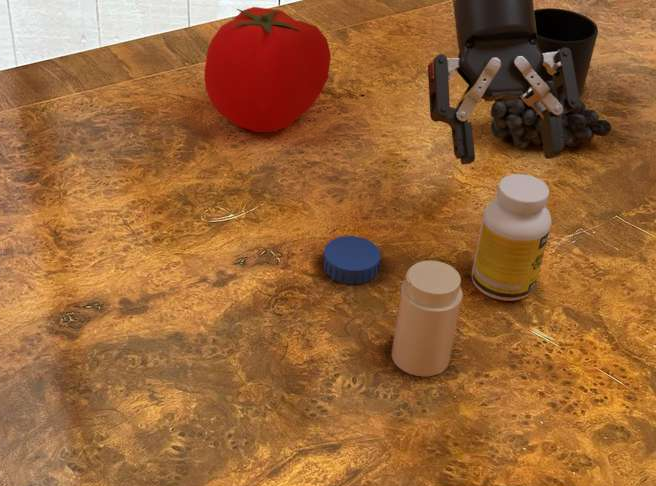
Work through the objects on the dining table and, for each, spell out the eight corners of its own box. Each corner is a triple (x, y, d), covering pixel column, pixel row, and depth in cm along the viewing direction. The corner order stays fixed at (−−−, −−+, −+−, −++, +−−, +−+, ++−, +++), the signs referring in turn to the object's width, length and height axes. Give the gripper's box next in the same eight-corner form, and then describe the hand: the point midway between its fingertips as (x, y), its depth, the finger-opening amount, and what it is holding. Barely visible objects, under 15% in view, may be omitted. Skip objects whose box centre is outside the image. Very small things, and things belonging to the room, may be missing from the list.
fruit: (625, 71, 123) (494, 52, 125) (622, 126, 119) (486, 105, 121) (605, 120, 130) (482, 102, 132) (602, 173, 126) (474, 154, 128)
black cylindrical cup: (579, 67, 142) (595, 3, 136) (583, 112, 133) (600, 46, 128) (508, 59, 144) (521, -5, 138) (507, 103, 135) (520, 37, 129)
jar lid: (363, 292, 106) (365, 278, 105) (312, 272, 108) (313, 258, 107) (388, 261, 110) (390, 247, 109) (338, 242, 112) (340, 229, 111)
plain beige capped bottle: (440, 334, 101) (454, 255, 95) (457, 374, 97) (473, 294, 91) (384, 339, 101) (396, 259, 94) (399, 379, 97) (412, 299, 90)
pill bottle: (522, 312, 104) (547, 215, 97) (460, 290, 106) (479, 194, 99) (543, 275, 109) (568, 181, 101) (483, 255, 111) (503, 161, 103)
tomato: (219, 155, 124) (219, 47, 115) (191, 96, 134) (189, -7, 125) (345, 137, 128) (355, 31, 119) (309, 82, 138) (316, -20, 129)
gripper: (433, -15, 99) (452, 157, 98) (577, -22, 101) (598, 146, 100) (410, 13, 106) (428, 173, 105) (545, 6, 108) (564, 163, 107)
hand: (511, 160), depth 103 cm, fingers open, 8 cm apart
